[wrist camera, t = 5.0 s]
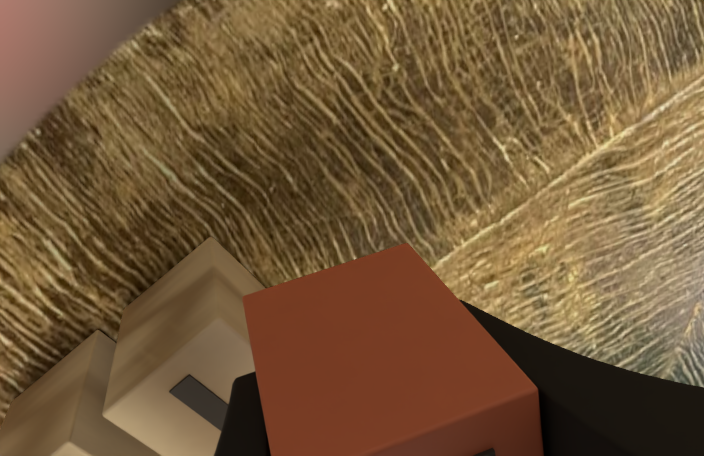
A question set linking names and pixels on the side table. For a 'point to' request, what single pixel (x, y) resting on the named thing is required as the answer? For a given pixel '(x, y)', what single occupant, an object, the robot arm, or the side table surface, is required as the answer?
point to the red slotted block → (384, 367)
